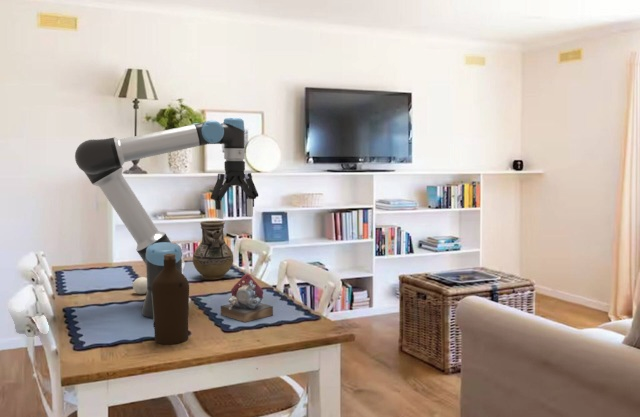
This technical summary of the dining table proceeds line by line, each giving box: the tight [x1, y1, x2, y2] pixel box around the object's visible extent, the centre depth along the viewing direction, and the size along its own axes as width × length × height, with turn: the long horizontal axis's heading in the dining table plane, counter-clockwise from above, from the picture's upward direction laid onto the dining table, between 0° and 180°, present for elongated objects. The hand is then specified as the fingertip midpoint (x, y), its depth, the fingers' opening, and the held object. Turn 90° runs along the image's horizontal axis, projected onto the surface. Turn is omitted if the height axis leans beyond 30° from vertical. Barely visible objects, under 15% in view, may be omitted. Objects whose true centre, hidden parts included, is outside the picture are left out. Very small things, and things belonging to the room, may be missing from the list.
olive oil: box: [151, 254, 190, 345], centre depth 168 cm, size 11×11×25 cm
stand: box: [220, 302, 274, 323], centre depth 196 cm, size 12×13×3 cm
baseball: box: [132, 276, 147, 295], centre depth 227 cm, size 7×7×7 cm
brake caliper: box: [227, 273, 264, 310], centre depth 193 cm, size 11×11×12 cm
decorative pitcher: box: [192, 220, 234, 281], centre depth 257 cm, size 22×18×25 cm
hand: (235, 217), depth 217 cm, fingers open, 13 cm apart
